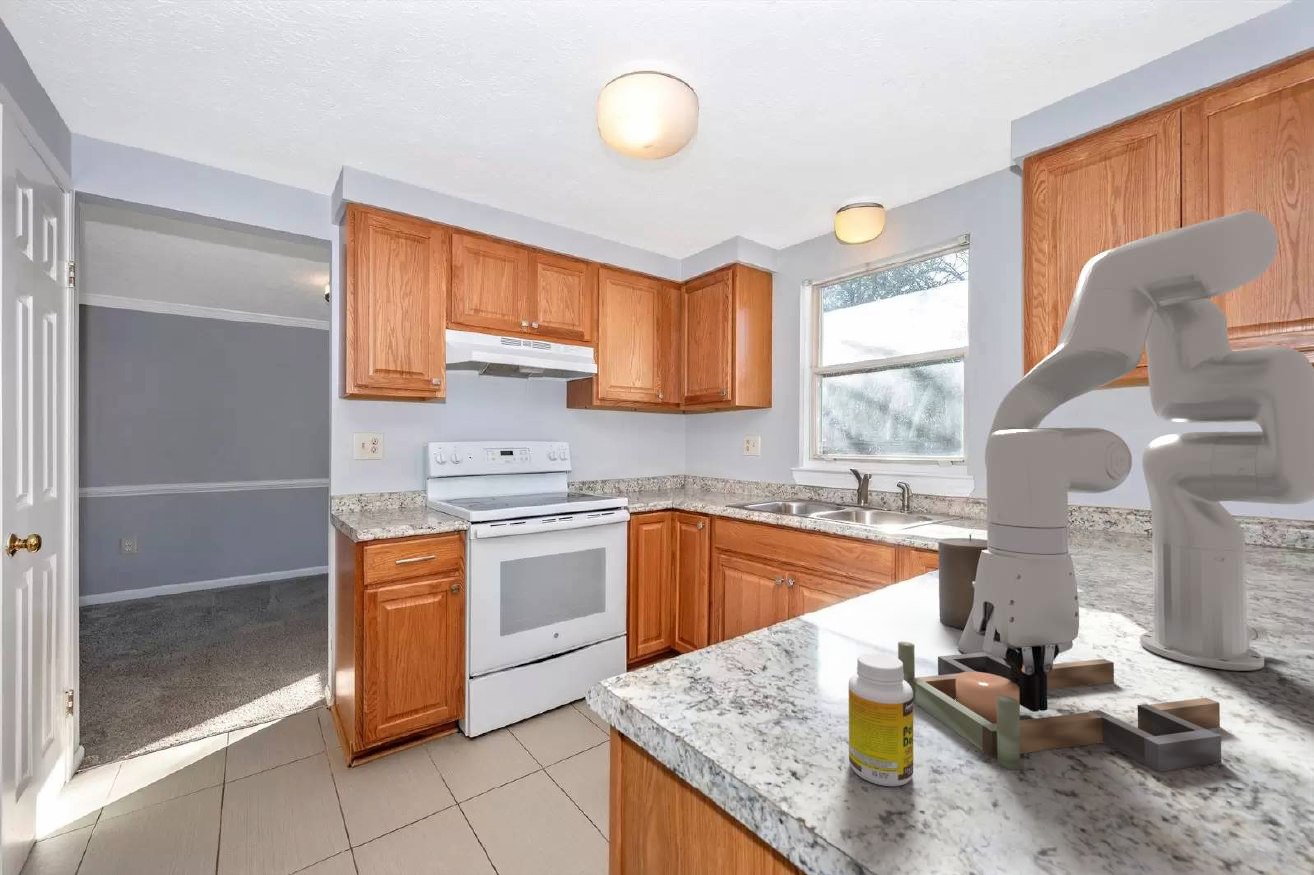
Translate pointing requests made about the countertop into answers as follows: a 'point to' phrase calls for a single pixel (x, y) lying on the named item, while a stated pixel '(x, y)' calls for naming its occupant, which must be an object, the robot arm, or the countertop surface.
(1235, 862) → the countertop surface
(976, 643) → the flask
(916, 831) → the countertop surface
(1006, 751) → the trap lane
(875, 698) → the supplement bottle
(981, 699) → the short salmon cylinder
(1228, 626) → the robot arm
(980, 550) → the pillar candle
